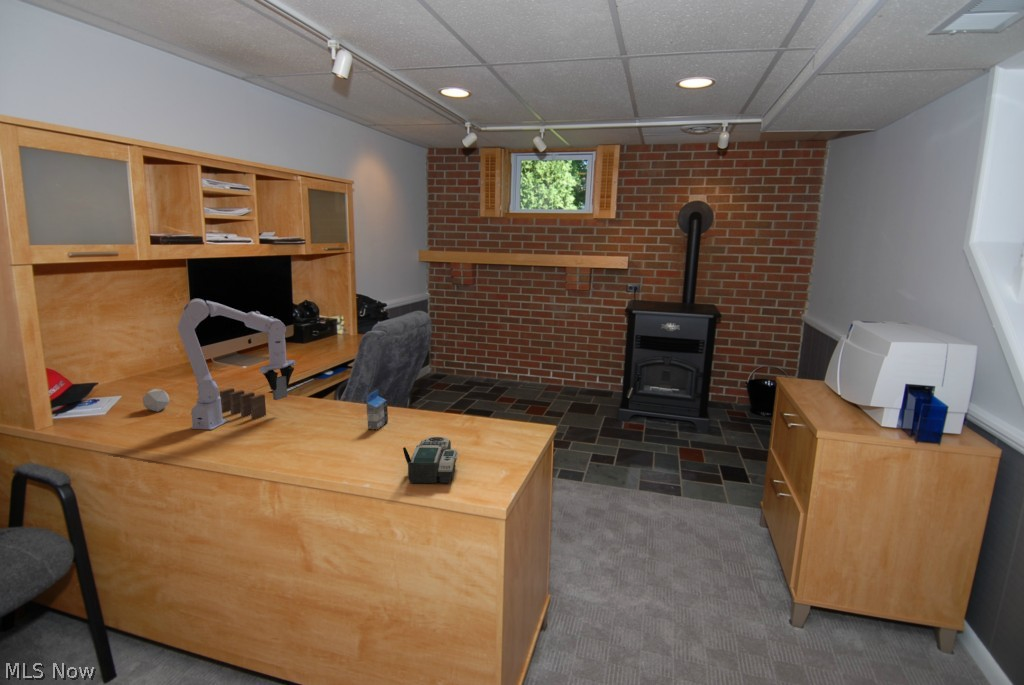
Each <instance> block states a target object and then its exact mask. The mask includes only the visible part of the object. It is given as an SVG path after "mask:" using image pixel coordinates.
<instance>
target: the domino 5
mask: <svg viewBox="0 0 1024 685" xmlns="http://www.w3.org/2000/svg"><path fill="white" fill-rule="evenodd" d="M276 383H277V388H276V390H272V398H273V399H272V400H275V401H279V400H282V399H285V398H288V387H287V385H286V376H277V381H276Z"/></svg>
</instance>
